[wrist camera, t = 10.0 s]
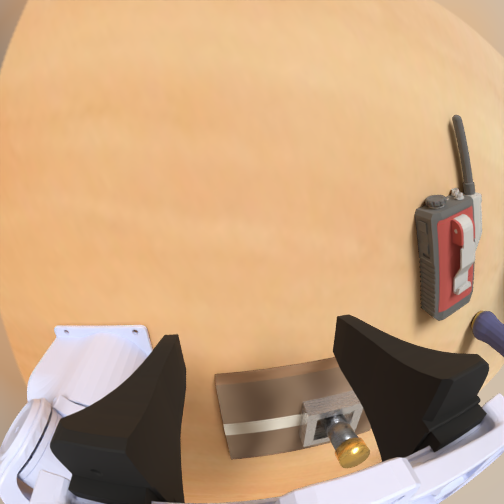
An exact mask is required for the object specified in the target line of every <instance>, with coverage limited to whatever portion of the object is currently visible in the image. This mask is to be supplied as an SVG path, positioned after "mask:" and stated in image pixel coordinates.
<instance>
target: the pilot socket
mask: <svg viewBox="0 0 504 504" xmlns="http://www.w3.org/2000/svg"><path fill="white" fill-rule="evenodd" d="M362 410H363V407H362V405H361V403H360V401H359V399H358V398H357V396H356V394H355V393H354V391H353V390H352V391H348V392H344V393H340V394H336V395H332V396H328V397H324V398H319V399H314V400H310V401H305V402H303V406H302V417H301V425H300V430H299V435H300V438H301V441H302V444H303V447H306V446H310V445H315V444H319V443H323V442H327V441H330V439H329V437H328V435H327V434H326V432H325V430H324V428H323V426H322V424H321V425H317V420H319V419H324V418H328V417H332V416H336V415H340V414H343V413H344V417H345V418H346V420H347V421H348V423H349V424H350V426H351V427H352V429H353V430H354V432H355V430H356V427H357V424H358V422H359V419H360V416H361V413H362ZM316 425H317V426H316Z"/></svg>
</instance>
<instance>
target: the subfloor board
mask: <svg viewBox="0 0 504 504" xmlns="http://www.w3.org/2000/svg"><path fill="white" fill-rule="evenodd" d="M215 381H216V390H217V395H218V400H219V405H220V410H221V415H222V420H223V425H224V430H225V435H226V439H227V443H228V448H229V452H230V456H231V459H241V458H251V457H259V456H266V455H273V454H279V453H285V452H290V451H296V450H300V449H305V448H310V447H314V446H318V445H323V444H326V443H330V442H331V441H327V442H323V443H319V444H315V445H310V446H306V447H303V444H302V441H301V438H300V435H299V430H300V425H301V417H302V406H303V402H305V401H310V400H314V399H319V398H324V397H328V396H332V395H336V394H340V393H344V392H348V391H352V390H353V389H352V388H351V386H350V384H349V383H348V381H347V379H346V378H345V376H344V374H343V373H342V371H341V369H340V367H339V365H338V363H337V360H336V358H335V357H333V358H328V359H323V360H318V361H313V362H307V363H302V364H296V365H290V366H283V367H276V368H269V369H261V370H253V371H244V372H235V373H224V374H215ZM343 415H344V413H343ZM317 425H321V422H320V420H317ZM317 425H316V426H317ZM370 429H371V426H370V423H369V421H368V418H367V416H366V414H365V411H364V409H363V410H362V413H361V416H360V419H359V422H358V424H357V427H356V430H355V433H356V435H358V434H361V433H364V432H367V431H370Z"/></svg>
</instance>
